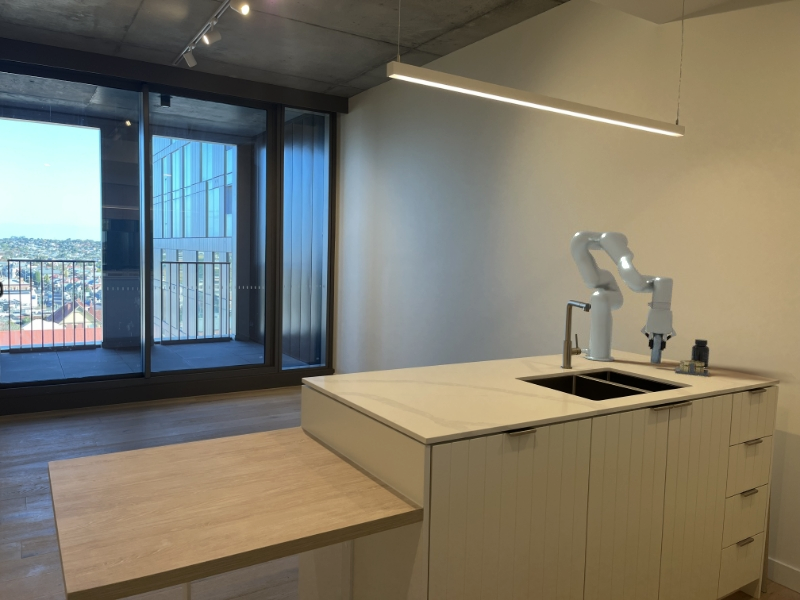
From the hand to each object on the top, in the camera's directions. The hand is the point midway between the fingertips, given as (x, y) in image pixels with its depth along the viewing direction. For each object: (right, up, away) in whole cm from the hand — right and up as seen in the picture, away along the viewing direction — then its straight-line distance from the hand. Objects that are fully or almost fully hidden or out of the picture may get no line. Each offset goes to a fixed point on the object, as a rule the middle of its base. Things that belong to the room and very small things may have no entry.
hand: (656, 349), depth 258 cm
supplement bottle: (+22, -9, +8) cm, 25 cm away
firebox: (+11, -9, -9) cm, 16 cm away
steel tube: (0, -6, 0) cm, 6 cm away
